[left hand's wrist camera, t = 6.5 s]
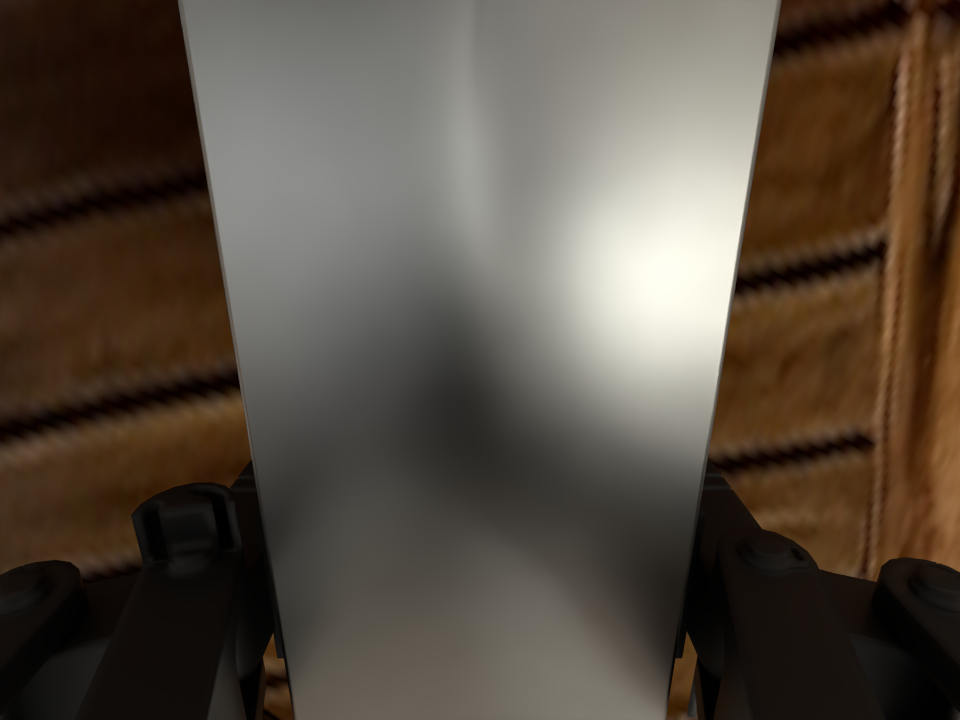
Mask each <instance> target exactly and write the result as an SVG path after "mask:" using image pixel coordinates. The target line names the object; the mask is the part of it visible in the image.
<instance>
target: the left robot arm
mask: <svg viewBox="0 0 960 720" xmlns="http://www.w3.org/2000/svg"><path fill="white" fill-rule="evenodd" d="M131 517H132V521H133V524H134V528H135V532H136V536H137V540H138V544H139V548H140V552H141V556H142V559H143V563H144V565H143V567H142V569H141V571H140V572H138V573H134V574H130V575H127V576H122V577H117V578H113V579H108V580H103V581H99V582H94V583H89V584H84V585H83V581H82V578H81V575H80V572H79V569H78V568H77V567H76V566H74V565H73V564H72V563H71V562H66V561H59V560H50V561H42V562H35V563H31V564H27V565H24V566H20V567H17V568H14V569H11V570H9V571H8V572H6V573H4V574H2V575H0V720H273V719H272V718H270V717H269V716H267V715H265V714H264V713H263V706H264V697H265V689H266V674H265V667H264V662H263V655H264V652H265V650H266V648H267V645H268V643H269V641H270V638H271V636H272V634H274V640H275V646H276V652H277V658H284V655H283V649H282V643H281V636H280V630H279V624H278V618H277V612H276V605H275V599H274V593H273V587H272V581H271V574H270V568H269V562H268V556H267V550H266V544H265V537H264V531H263V525H262V519H261V513H260V506H259V500H258V494H257V488H256V482H255V475H254V469H253V463H252V460H251V461H250V462H249V463H248V465H247V466H246V467H245V469H244V470H243V471H242V473H241V474H240V475H239V479H236V481H235V482H234V484H233V485H232V486H231V488H230V489H229V488H227V487H226V486H225V485H221V484H216V483H212V482H208V483H191V484H187V485H182V486H177V487H174V488H171V489H169V490H166V491H164V492H161V493H159V494H156V495H154V496H153V497H151V498H150V499H148V500H147V501H145V502H144V503H142V504H141V505H140V506H139V507H138V508H137V509H136V510H135V511H134V513H133V514H132V515H131ZM686 632H688V634H689V637H690V639H691V641H692V643H693V646H694V648H695V650H696V653H697V655H698V656H697V662H696V667H695V673H694V678H693V684H692V690H691V695H690V701H689V707H688V714H687V716H689V717H693V718H695V714H696V709H697V714H698V720H960V572H958V571H956V570H954V569H952V568H950V567H948V566H945V565H942V564H940V563H939V564H937V563H936V562H932V561H928V560H922V559H914V558H906V557H905V558H898V559H891V560H889V561H888V562H886V563H885V564H884V565H883V566H882V567H881V570H880V573H879V576H878V580H877V582H873V581H868V580H864V579H859V578H854V577H849V576H845V575H840V574H835V573H831V572H827V571H824V570H820V569H819V568H818V566H817V564H816V562H815V561H814V559H813V558H812V557H811V555H810V554H809V553H808V551H806V550H805V549H804V548H802V547H801V546H800V545H798V544H797V543H796V542H794V541H793V540H791V539H788V538H786V537H784V536H782V535H780V534H777V533H775V532H771V531H767V530H763V529H762V528H761V527H760V526H759V524H758V523H757V522H756V520H755V519H754V518H753V516H752V515H751V514H750V512H749V511H748V510H747V508H746V507H745V506H744V504H743V503H742V502H741V500H740V499H739V498H738V496H737V495H736V494H735V492H734V491H733V490H731V489H730V486H729V484H728V483H727V482H726V480H725V479H724V478H723V477H721V474H720V472H719V471H718V470H717V468H716V467H715V466H714V464H713V463H712V462H711V460H710V459H709V458H708V459H707V465H706V471H705V477H704V483H703V490H702V496H701V502H700V508H699V514H698V521H697V527H696V533H695V539H694V545H693V552H692V558H691V564H690V570H689V577H688V583H687V589H686V595H685V601H684V608H683V614H682V620H681V626H680V632H679V639H678V645H677V651H676V657H675V658H682V656H683V650H684V644H685V638H686Z"/></svg>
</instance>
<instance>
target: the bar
mask: <svg viewBox="0 0 960 720" xmlns="http://www.w3.org/2000/svg"><path fill="white" fill-rule="evenodd" d="M178 5H179V11H180V17H181V24H182V30H183V36H184V42H185V48H186V54H187V61H188V67H189V73H190V79H191V85H192V92H193V98H194V104H195V110H196V116H197V123H198V129H199V135H200V141H201V147H202V154H203V160H204V166H205V172H206V178H207V184H208V191H209V197H210V203H211V209H212V215H213V222H214V228H215V234H216V240H217V246H218V253H219V259H220V265H221V271H222V277H223V284H224V290H225V296H226V302H227V308H228V314H229V321H230V327H231V333H232V339H233V345H234V352H235V358H236V364H237V370H238V376H239V383H240V389H241V395H242V401H243V407H244V414H245V420H246V426H247V432H248V438H249V444H250V451H251V457H252V463H253V469H254V475H255V482H256V488H257V494H258V500H259V506H260V513H261V519H262V525H263V531H264V537H265V544H266V550H267V556H268V562H269V568H270V574H271V581H272V587H273V593H274V599H275V605H276V612H277V618H278V624H279V630H280V636H281V643H282V649H283V655H284V661H285V667H286V674H287V680H288V686H289V692H290V698H291V705H292V711H293V717H294V720H665V719H666V713H667V707H668V701H669V694H670V688H671V682H672V676H673V670H674V663H675V657H676V651H677V645H678V639H679V632H680V626H681V620H682V614H683V608H684V601H685V595H686V589H687V583H688V577H689V570H690V564H691V558H692V552H693V545H694V539H695V533H696V527H697V521H698V514H699V508H700V502H701V496H702V490H703V483H704V477H705V471H706V465H707V459H708V452H709V446H710V440H711V434H712V428H713V421H714V415H715V409H716V403H717V397H718V390H719V384H720V378H721V372H722V366H723V359H724V353H725V347H726V341H727V335H728V328H729V322H730V316H731V310H732V304H733V297H734V291H735V285H736V279H737V273H738V266H739V260H740V254H741V248H742V242H743V235H744V229H745V223H746V217H747V211H748V204H749V198H750V192H751V186H752V180H753V173H754V167H755V161H756V155H757V149H758V142H759V136H760V130H761V124H762V117H763V111H764V105H765V99H766V93H767V86H768V80H769V74H770V68H771V62H772V55H773V49H774V43H775V37H776V31H777V24H778V18H779V12H780V6H781V0H178Z"/></svg>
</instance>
